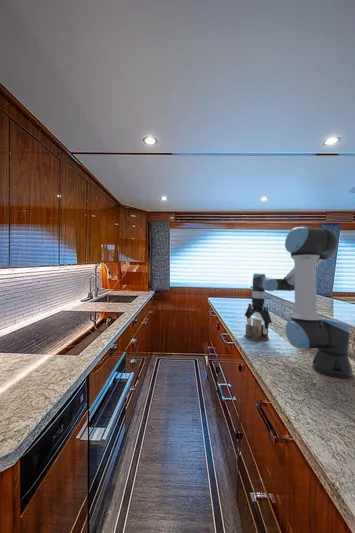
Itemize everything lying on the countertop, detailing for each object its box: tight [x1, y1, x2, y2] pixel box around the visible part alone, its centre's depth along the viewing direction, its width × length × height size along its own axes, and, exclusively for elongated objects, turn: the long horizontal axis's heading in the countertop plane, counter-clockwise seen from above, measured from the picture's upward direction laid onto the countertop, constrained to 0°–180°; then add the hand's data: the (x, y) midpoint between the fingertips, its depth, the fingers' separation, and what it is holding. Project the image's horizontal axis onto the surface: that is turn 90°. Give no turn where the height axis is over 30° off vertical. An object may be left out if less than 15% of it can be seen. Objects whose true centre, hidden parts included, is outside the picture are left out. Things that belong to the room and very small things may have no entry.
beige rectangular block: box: [252, 317, 263, 338], centre depth 148 cm, size 5×5×11 cm
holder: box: [244, 323, 270, 343], centre depth 148 cm, size 10×11×8 cm
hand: (256, 330), depth 148 cm, fingers open, 13 cm apart
